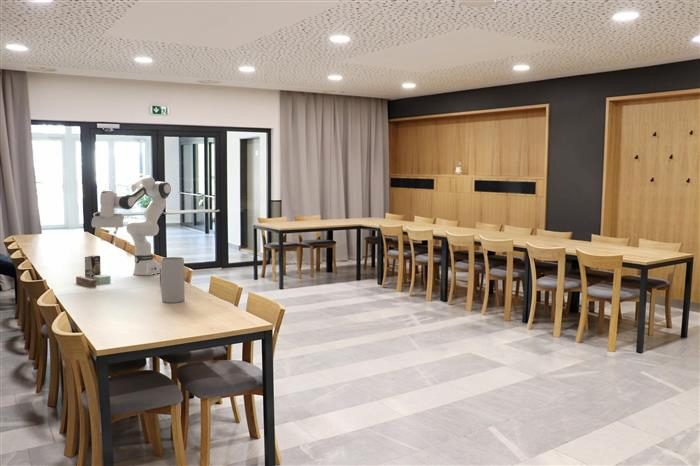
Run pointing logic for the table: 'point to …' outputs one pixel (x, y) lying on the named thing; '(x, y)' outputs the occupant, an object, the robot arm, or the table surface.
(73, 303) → the table surface
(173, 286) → the cylinder vase
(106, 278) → the block
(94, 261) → the coffee box
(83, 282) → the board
